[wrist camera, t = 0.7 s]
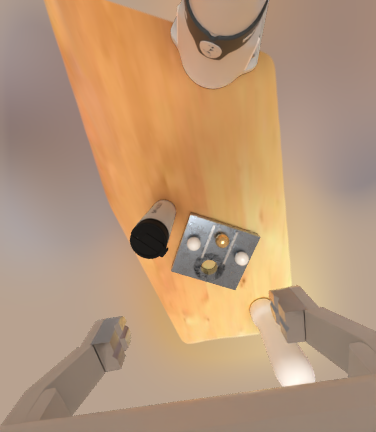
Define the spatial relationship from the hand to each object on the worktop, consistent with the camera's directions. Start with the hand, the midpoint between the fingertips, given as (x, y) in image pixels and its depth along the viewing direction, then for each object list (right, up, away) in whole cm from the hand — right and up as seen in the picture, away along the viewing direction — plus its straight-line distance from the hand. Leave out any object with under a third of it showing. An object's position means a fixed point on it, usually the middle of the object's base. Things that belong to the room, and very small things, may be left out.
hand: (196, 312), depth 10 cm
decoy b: (+1, -2, +36) cm, 36 cm away
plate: (+7, -4, +41) cm, 41 cm away
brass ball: (+8, -1, +35) cm, 36 cm away
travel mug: (-7, +7, +38) cm, 39 cm away
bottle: (+22, -23, +46) cm, 56 cm away
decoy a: (+13, -6, +37) cm, 39 cm away
